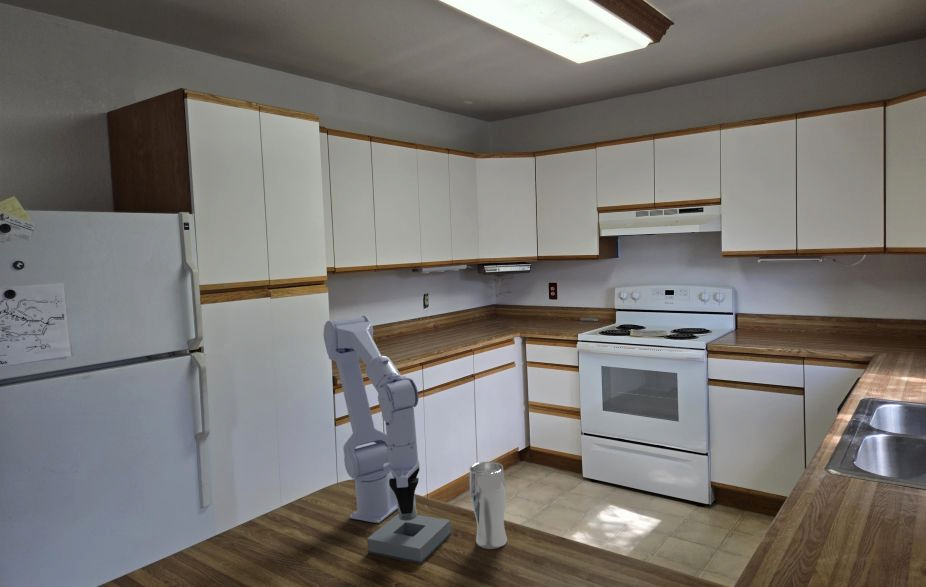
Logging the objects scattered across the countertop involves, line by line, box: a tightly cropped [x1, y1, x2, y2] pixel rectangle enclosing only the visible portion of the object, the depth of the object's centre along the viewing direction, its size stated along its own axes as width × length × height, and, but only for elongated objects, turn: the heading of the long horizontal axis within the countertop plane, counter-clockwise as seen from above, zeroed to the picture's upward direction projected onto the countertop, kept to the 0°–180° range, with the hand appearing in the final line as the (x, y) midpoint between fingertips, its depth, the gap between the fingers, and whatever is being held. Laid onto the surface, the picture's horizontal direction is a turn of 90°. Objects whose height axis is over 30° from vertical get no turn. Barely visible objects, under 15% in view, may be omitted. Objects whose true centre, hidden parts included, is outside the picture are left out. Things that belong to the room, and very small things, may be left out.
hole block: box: [366, 513, 452, 565], centre depth 124 cm, size 12×12×3 cm
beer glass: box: [469, 461, 508, 550], centre depth 122 cm, size 7×7×15 cm
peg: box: [397, 493, 418, 521], centre depth 123 cm, size 4×4×7 cm
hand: (407, 508), depth 123 cm, fingers closed on peg, 4 cm apart
